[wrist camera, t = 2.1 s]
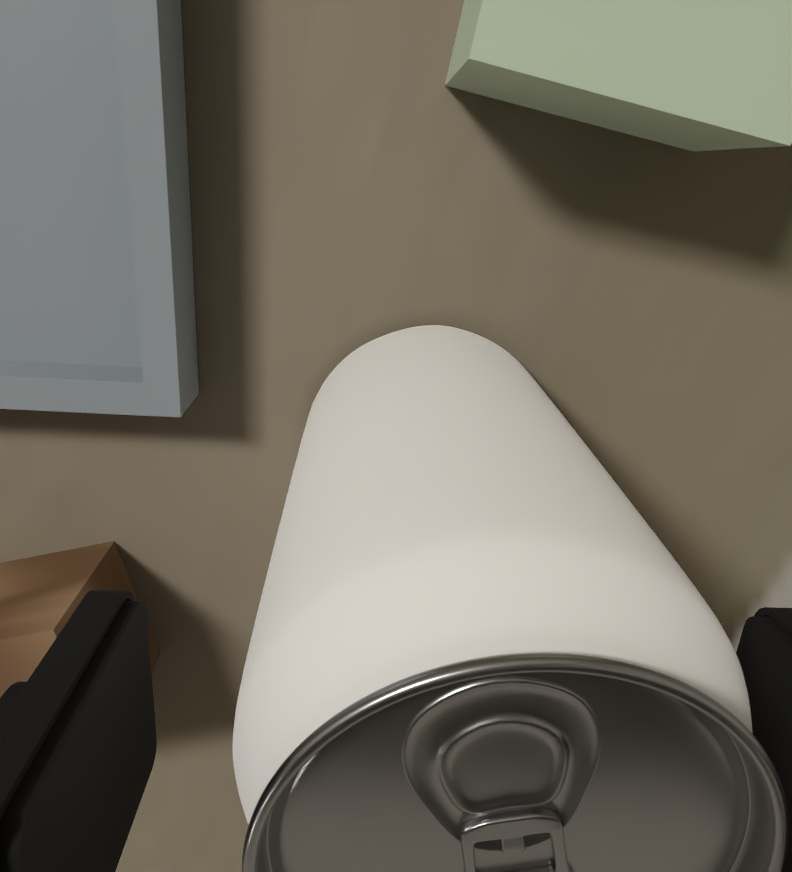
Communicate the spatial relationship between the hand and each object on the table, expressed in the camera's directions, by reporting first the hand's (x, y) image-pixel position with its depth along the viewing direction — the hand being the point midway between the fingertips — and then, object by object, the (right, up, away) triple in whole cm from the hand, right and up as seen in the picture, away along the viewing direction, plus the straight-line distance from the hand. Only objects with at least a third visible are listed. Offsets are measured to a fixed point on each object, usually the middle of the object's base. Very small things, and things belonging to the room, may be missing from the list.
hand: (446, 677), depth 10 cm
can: (0, +4, +8) cm, 9 cm away
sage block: (+4, +13, +4) cm, 14 cm away
